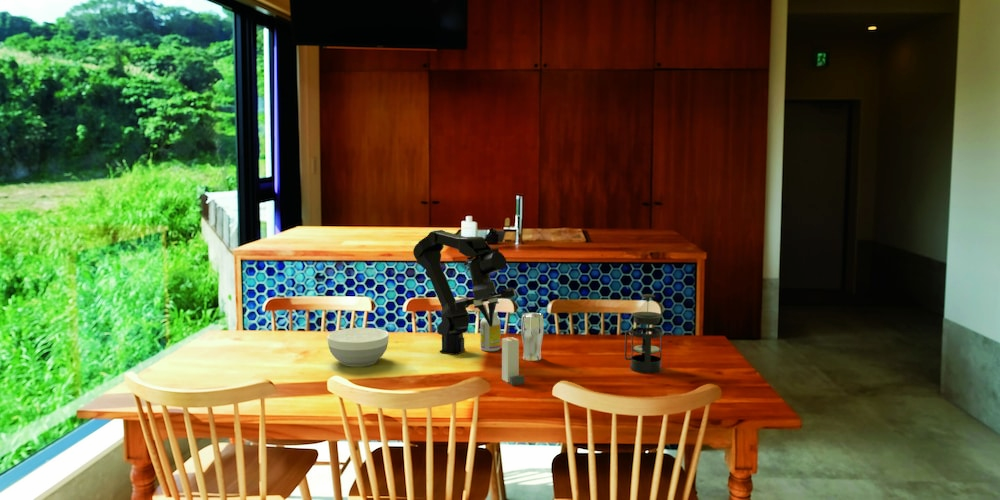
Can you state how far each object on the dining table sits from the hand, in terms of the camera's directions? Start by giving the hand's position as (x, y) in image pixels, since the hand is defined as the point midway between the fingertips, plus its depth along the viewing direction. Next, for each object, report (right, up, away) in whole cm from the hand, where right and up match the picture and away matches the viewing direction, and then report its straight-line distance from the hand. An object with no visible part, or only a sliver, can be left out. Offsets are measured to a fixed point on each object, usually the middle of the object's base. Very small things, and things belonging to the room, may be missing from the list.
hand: (491, 326), depth 256 cm
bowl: (-41, -12, +4) cm, 43 cm away
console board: (+4, -14, -15) cm, 21 cm away
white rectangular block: (+6, -14, -19) cm, 24 cm away
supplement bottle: (0, -10, +19) cm, 22 cm away
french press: (+47, -13, -3) cm, 48 cm away
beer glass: (+13, -12, +5) cm, 18 cm away
